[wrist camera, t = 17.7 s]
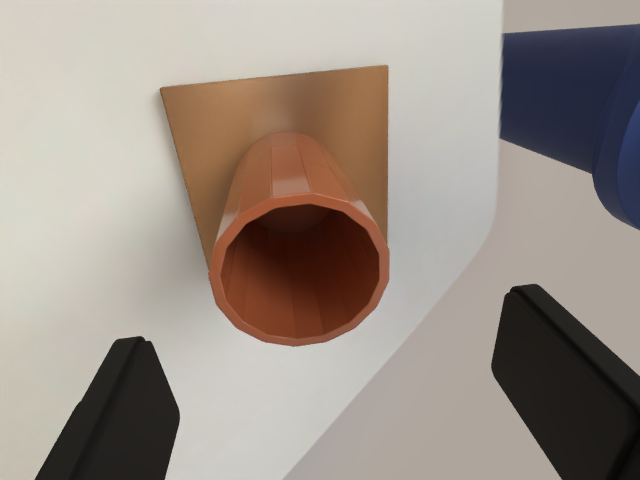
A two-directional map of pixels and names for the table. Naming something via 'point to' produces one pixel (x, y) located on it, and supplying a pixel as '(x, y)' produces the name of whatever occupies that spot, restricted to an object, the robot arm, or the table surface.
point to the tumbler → (296, 246)
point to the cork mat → (280, 116)
